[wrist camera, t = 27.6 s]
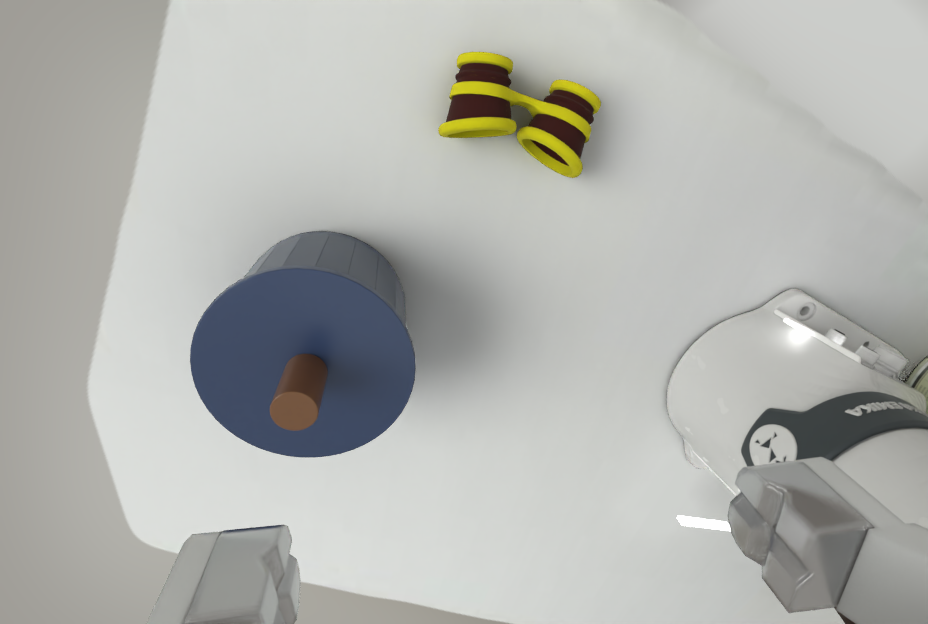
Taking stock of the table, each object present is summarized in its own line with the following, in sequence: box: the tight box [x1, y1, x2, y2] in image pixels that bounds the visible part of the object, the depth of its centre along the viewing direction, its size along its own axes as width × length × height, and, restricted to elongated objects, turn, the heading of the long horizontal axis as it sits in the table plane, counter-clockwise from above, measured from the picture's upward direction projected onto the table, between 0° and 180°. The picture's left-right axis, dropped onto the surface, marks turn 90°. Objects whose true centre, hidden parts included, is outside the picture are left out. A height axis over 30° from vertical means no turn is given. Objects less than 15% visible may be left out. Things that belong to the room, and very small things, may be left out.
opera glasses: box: [438, 52, 601, 178], centre depth 32 cm, size 10×5×5 cm, turn 72°
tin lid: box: [190, 265, 416, 457], centre depth 28 cm, size 13×13×5 cm
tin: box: [244, 231, 406, 326], centre depth 34 cm, size 12×12×9 cm
